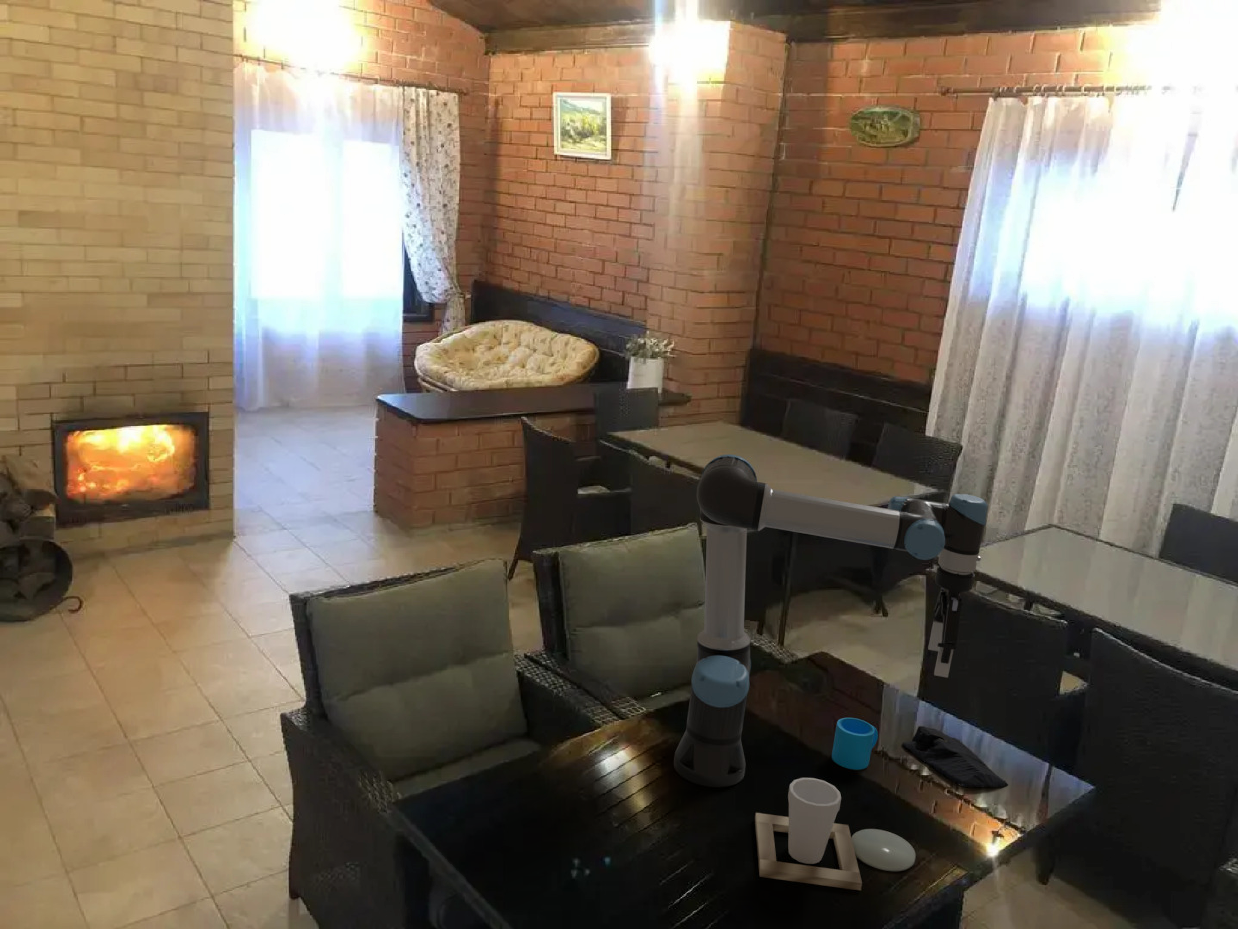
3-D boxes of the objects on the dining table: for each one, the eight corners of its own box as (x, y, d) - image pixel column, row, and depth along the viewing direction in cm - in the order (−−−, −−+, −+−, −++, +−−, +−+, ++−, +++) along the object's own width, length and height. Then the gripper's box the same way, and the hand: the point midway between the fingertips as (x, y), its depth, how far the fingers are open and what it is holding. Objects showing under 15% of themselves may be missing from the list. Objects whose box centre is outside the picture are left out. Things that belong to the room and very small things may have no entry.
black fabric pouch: (954, 796, 218) (958, 776, 217) (896, 743, 238) (899, 725, 237) (1013, 789, 223) (1017, 770, 222) (951, 739, 243) (955, 720, 242)
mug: (851, 773, 222) (857, 739, 220) (823, 755, 229) (829, 722, 227) (888, 760, 229) (893, 727, 227) (860, 743, 236) (865, 711, 234)
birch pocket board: (759, 876, 184) (760, 869, 183) (754, 819, 201) (755, 812, 201) (860, 890, 183) (861, 883, 182) (847, 832, 200) (848, 825, 200)
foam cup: (833, 847, 195) (844, 786, 192) (827, 874, 186) (837, 811, 183) (784, 833, 198) (793, 773, 194) (775, 860, 189) (785, 797, 186)
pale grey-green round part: (855, 866, 189) (855, 862, 189) (846, 829, 201) (847, 825, 201) (920, 875, 189) (921, 871, 189) (908, 837, 200) (908, 833, 200)
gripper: (983, 592, 201) (962, 690, 206) (967, 553, 224) (949, 643, 230) (944, 585, 202) (924, 683, 207) (932, 548, 226) (915, 637, 231)
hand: (937, 662), depth 218 cm, fingers open, 13 cm apart
